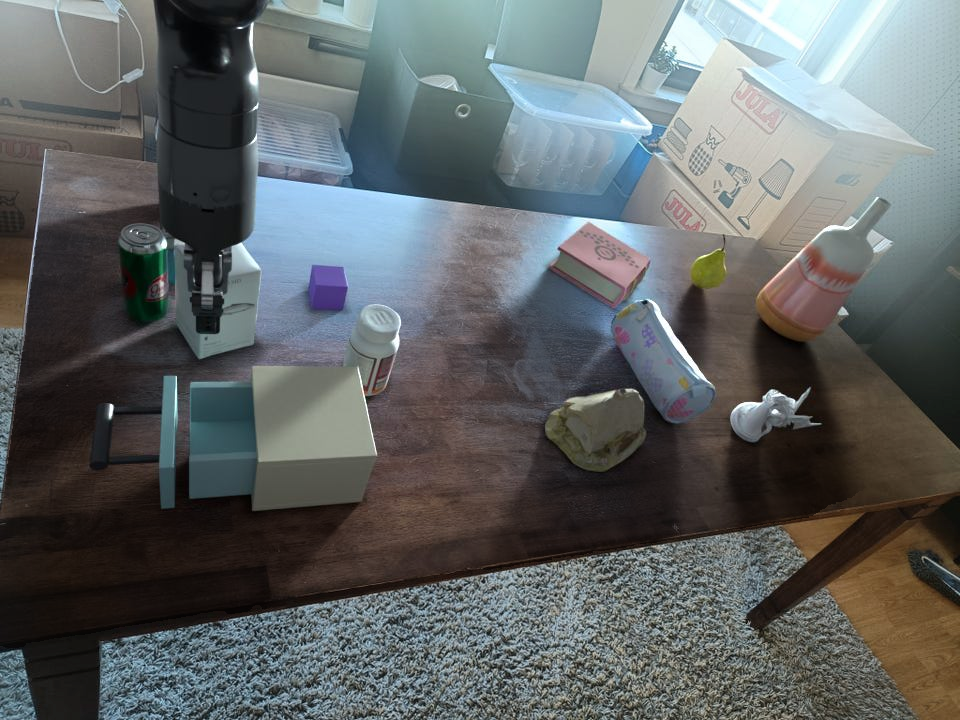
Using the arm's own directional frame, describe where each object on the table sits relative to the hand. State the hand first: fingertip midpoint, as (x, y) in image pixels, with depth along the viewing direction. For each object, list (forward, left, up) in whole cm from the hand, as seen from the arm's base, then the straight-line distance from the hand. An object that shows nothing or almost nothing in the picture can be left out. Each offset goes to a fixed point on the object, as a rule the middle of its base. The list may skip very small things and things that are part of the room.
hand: (208, 329), depth 63 cm
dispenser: (+10, -7, -14) cm, 18 cm away
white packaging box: (+1, +13, -14) cm, 19 cm away
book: (+69, +32, -14) cm, 78 cm away
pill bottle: (+19, +5, -14) cm, 24 cm away
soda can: (-7, +17, -14) cm, 23 cm away
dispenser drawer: (-2, -7, -13) cm, 15 cm away
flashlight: (-4, +32, -14) cm, 35 cm away
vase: (+109, +20, -14) cm, 112 cm away
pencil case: (+66, +5, -14) cm, 68 cm away
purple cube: (+16, +21, -14) cm, 30 cm away
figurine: (+80, -8, -14) cm, 82 cm away
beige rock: (+50, -6, -14) cm, 52 cm away
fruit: (+94, +31, -14) cm, 100 cm away
